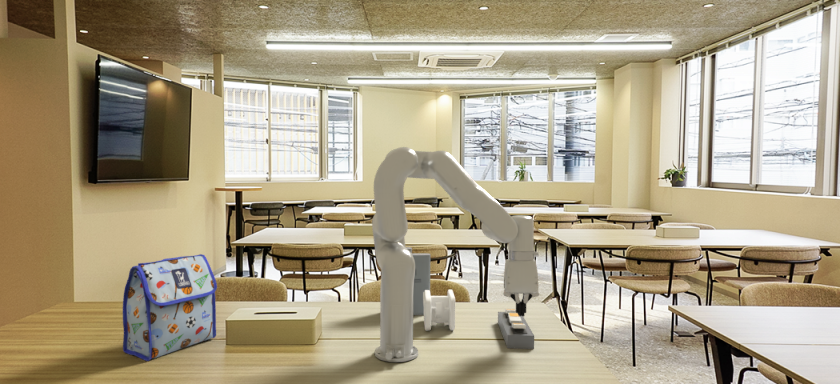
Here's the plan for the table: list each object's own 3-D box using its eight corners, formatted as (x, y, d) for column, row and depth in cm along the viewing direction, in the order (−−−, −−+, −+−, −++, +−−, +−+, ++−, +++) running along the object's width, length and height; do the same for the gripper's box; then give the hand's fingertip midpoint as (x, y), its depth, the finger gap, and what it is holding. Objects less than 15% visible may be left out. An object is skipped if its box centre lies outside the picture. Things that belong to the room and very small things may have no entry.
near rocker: (525, 328, 148) (525, 324, 149) (514, 328, 149) (513, 324, 149) (523, 326, 153) (523, 323, 153) (511, 326, 153) (511, 323, 154)
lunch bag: (151, 365, 132) (150, 267, 131) (117, 353, 140) (116, 261, 139) (222, 340, 152) (222, 255, 151) (189, 331, 160) (188, 250, 159)
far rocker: (517, 313, 164) (517, 310, 165) (506, 313, 165) (506, 310, 165) (515, 312, 169) (515, 309, 169) (505, 312, 169) (505, 309, 170)
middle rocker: (521, 323, 157) (521, 320, 156) (510, 323, 157) (510, 320, 156) (519, 316, 161) (519, 313, 161) (508, 315, 162) (508, 312, 161)
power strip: (534, 348, 147) (534, 333, 146) (507, 348, 147) (507, 333, 147) (516, 315, 181) (516, 303, 180) (494, 315, 181) (495, 303, 181)
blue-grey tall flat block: (383, 314, 181) (383, 248, 180) (384, 311, 185) (384, 246, 184) (429, 315, 180) (430, 248, 179) (429, 311, 185) (430, 246, 184)
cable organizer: (455, 333, 160) (456, 299, 159) (423, 333, 160) (423, 298, 159) (452, 320, 175) (452, 288, 174) (422, 320, 175) (423, 288, 174)
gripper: (543, 253, 152) (543, 311, 153) (495, 253, 152) (495, 311, 153) (548, 258, 144) (548, 319, 145) (497, 258, 145) (498, 318, 146)
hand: (521, 315), depth 149 cm, fingers closed
